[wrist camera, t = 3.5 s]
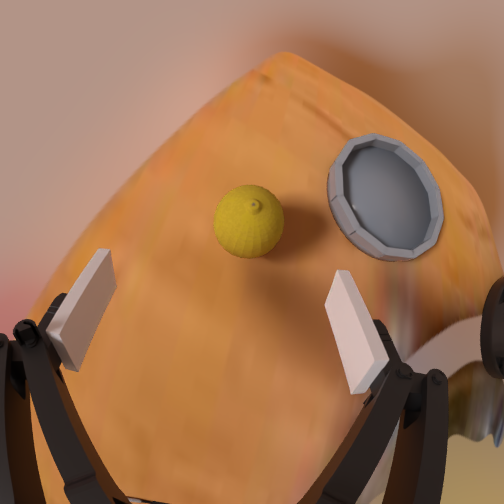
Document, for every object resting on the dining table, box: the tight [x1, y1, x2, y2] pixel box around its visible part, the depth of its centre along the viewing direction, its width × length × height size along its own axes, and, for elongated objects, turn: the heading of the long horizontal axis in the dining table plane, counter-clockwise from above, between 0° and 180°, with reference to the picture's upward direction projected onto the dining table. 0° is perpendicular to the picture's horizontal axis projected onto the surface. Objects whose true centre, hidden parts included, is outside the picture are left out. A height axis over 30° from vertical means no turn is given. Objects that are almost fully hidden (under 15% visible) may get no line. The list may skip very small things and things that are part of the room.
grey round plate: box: [327, 133, 444, 262], centre depth 28 cm, size 14×14×2 cm
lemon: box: [213, 185, 284, 259], centre depth 23 cm, size 6×6×8 cm
